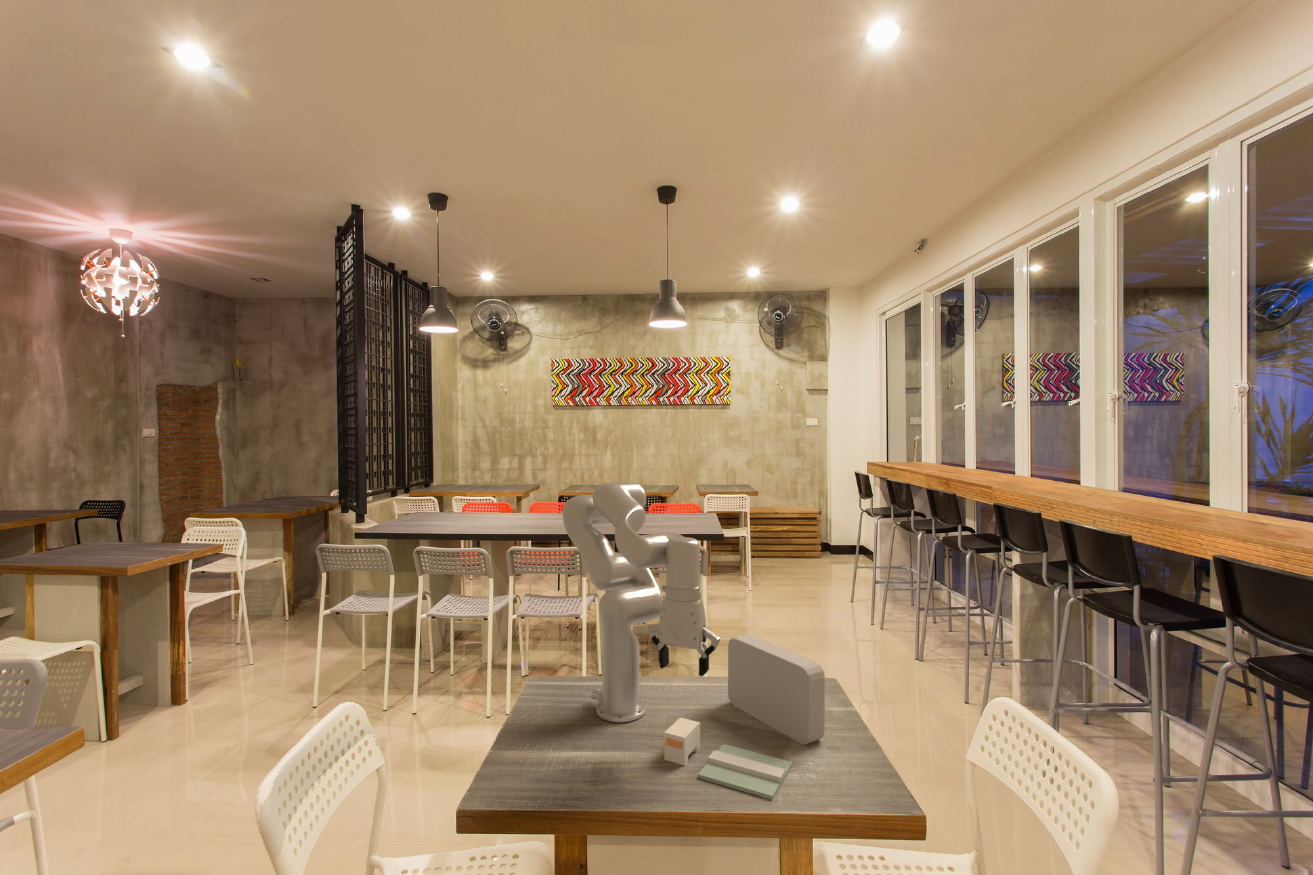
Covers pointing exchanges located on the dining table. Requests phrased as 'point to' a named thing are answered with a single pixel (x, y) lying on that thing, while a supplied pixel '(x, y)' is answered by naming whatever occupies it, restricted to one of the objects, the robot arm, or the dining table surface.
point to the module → (681, 740)
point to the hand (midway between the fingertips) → (683, 670)
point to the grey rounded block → (777, 688)
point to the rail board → (746, 771)
